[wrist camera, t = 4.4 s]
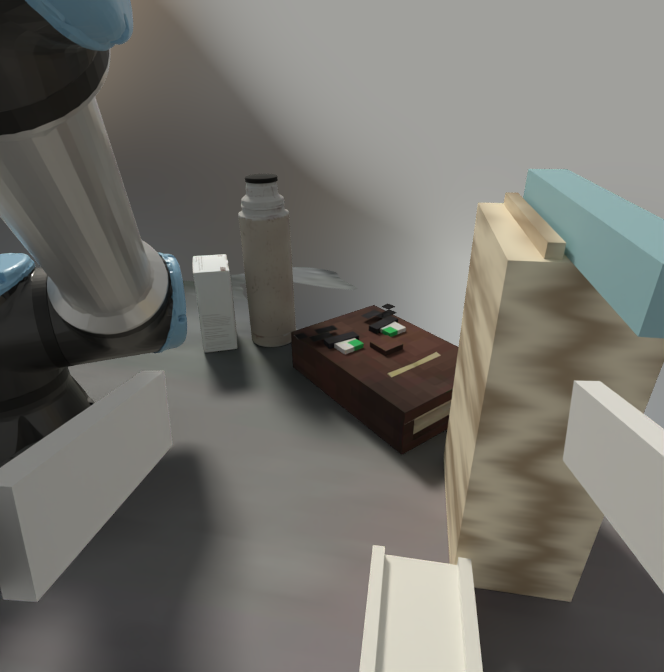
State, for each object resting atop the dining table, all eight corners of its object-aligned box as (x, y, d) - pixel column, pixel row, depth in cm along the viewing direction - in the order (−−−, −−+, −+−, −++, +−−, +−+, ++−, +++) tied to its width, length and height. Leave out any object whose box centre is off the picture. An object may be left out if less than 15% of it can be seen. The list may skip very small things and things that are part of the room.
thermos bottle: (243, 335, 83) (224, 174, 70) (280, 322, 87) (268, 169, 74) (267, 352, 77) (251, 181, 64) (304, 337, 82) (297, 175, 69)
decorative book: (412, 421, 49) (275, 324, 71) (408, 473, 53) (279, 365, 74) (518, 365, 59) (370, 294, 81) (509, 411, 63) (369, 332, 84)
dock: (347, 812, 28) (347, 778, 25) (371, 582, 41) (373, 544, 38) (484, 845, 26) (497, 812, 24) (463, 596, 39) (471, 558, 37)
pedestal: (451, 583, 40) (510, 243, 26) (443, 458, 54) (479, 190, 40) (570, 601, 39) (706, 250, 24) (531, 467, 53) (602, 193, 38)
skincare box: (203, 332, 84) (190, 255, 77) (236, 328, 85) (226, 252, 78) (204, 354, 77) (190, 271, 70) (240, 349, 78) (229, 267, 71)
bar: (638, 336, 18) (662, 263, 16) (521, 206, 39) (528, 169, 37) (723, 342, 17) (756, 267, 16) (559, 206, 38) (567, 169, 37)
